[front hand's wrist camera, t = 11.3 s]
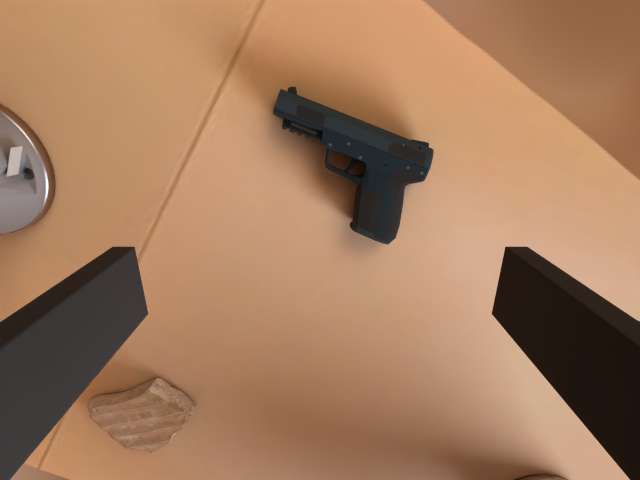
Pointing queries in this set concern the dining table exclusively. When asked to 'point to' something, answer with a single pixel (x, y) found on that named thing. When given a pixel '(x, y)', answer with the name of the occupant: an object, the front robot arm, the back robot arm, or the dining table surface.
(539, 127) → the dining table surface
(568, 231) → the dining table surface
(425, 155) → the handgun
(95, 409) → the stone
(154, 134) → the dining table surface
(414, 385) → the dining table surface
